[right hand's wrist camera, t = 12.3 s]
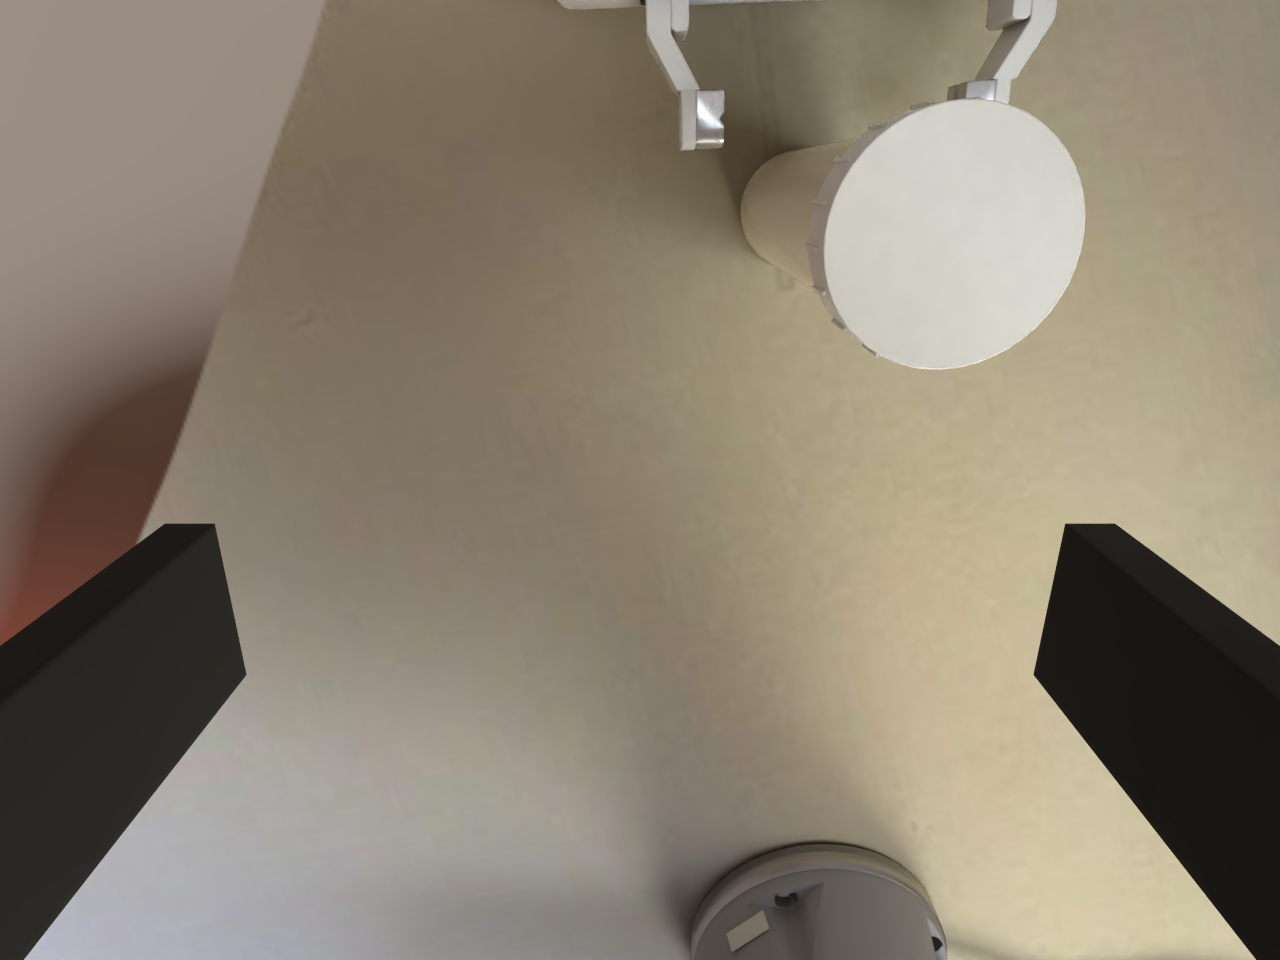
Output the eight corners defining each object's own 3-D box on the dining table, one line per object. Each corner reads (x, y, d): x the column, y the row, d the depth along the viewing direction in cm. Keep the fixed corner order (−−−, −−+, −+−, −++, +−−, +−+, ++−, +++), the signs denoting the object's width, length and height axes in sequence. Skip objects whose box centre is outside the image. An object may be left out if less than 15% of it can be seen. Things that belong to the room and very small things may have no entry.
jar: (776, 289, 36) (899, 389, 19) (718, 194, 35) (796, 209, 18) (872, 226, 35) (1092, 270, 18) (817, 125, 34) (1000, 70, 17)
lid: (877, 400, 20) (898, 419, 19) (759, 200, 19) (771, 202, 17) (1088, 270, 19) (1130, 279, 18) (983, 46, 18) (1019, 32, 16)
